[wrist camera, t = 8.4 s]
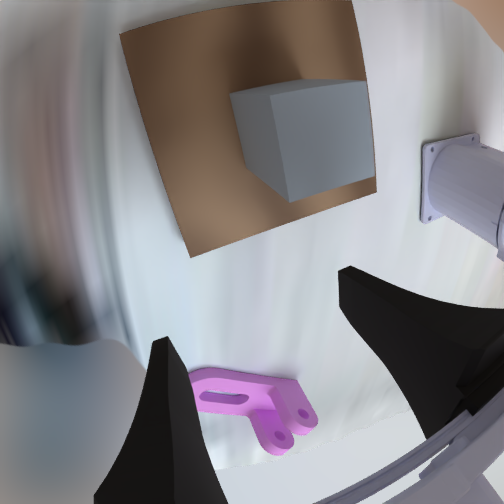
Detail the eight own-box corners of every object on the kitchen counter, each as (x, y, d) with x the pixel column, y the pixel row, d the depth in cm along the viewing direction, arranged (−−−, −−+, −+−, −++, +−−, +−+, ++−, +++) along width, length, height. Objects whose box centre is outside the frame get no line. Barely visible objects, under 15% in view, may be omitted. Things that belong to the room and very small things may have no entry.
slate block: (302, 79, 16) (366, 80, 11) (314, 149, 19) (374, 175, 14) (229, 93, 16) (269, 95, 11) (246, 167, 18) (289, 202, 13)
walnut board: (334, 5, 16) (351, 0, 14) (361, 183, 23) (376, 192, 22) (121, 40, 14) (119, 34, 12) (186, 243, 21) (190, 258, 20)
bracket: (296, 379, 34) (323, 427, 28) (269, 408, 35) (291, 454, 29) (192, 362, 27) (209, 425, 21) (169, 396, 29) (182, 455, 23)
